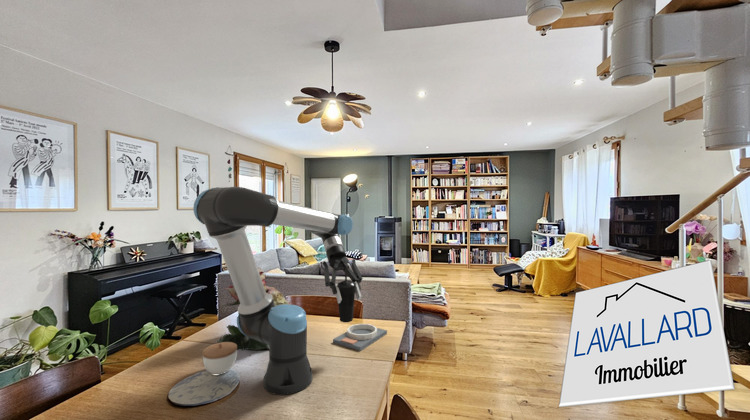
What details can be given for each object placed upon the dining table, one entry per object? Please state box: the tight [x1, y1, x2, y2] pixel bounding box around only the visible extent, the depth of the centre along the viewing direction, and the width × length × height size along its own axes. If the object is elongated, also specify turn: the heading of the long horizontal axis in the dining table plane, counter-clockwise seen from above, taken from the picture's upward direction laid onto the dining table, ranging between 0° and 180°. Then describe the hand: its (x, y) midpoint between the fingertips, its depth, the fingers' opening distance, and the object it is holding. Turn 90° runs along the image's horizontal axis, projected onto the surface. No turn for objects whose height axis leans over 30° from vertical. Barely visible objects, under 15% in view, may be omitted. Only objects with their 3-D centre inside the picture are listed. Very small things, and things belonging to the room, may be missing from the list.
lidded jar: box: [202, 342, 238, 375], centre depth 110 cm, size 11×11×9 cm
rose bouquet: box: [216, 267, 291, 351], centre depth 138 cm, size 26×29×30 cm
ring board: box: [332, 323, 388, 352], centre depth 137 cm, size 20×14×4 cm
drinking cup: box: [335, 267, 356, 323], centre depth 120 cm, size 8×8×20 cm
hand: (349, 299), depth 117 cm, fingers closed on drinking cup, 7 cm apart
